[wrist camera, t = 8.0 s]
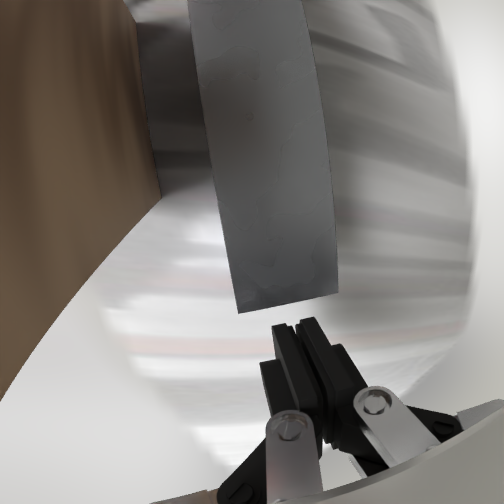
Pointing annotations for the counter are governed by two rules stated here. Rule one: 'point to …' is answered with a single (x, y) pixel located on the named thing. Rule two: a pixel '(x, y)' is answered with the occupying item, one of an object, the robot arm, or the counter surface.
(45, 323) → the shelf
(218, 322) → the counter surface
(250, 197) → the bar
